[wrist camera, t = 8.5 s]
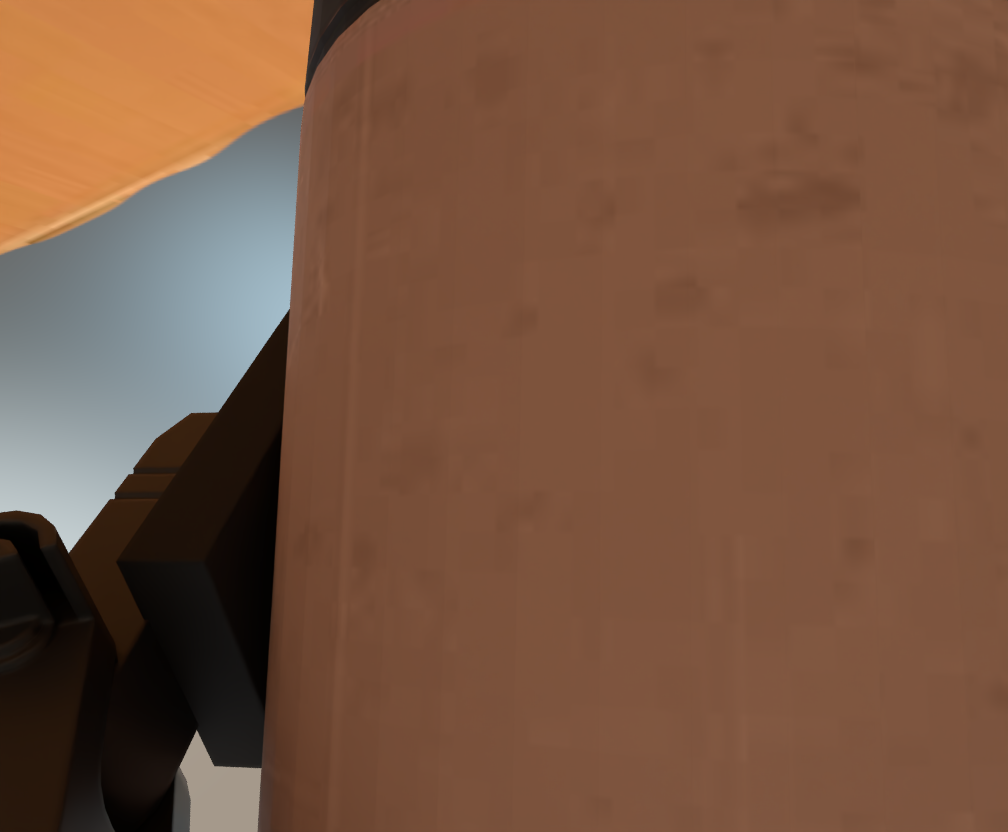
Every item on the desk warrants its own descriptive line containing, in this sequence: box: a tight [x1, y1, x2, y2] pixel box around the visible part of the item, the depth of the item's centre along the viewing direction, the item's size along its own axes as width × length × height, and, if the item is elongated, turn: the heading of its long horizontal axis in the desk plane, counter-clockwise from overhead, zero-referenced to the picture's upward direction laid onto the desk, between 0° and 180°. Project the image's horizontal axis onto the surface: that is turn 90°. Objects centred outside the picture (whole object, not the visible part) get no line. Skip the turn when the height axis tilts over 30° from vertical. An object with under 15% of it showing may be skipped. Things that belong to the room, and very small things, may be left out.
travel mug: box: [258, 0, 1008, 832], centre depth 9 cm, size 8×8×20 cm
